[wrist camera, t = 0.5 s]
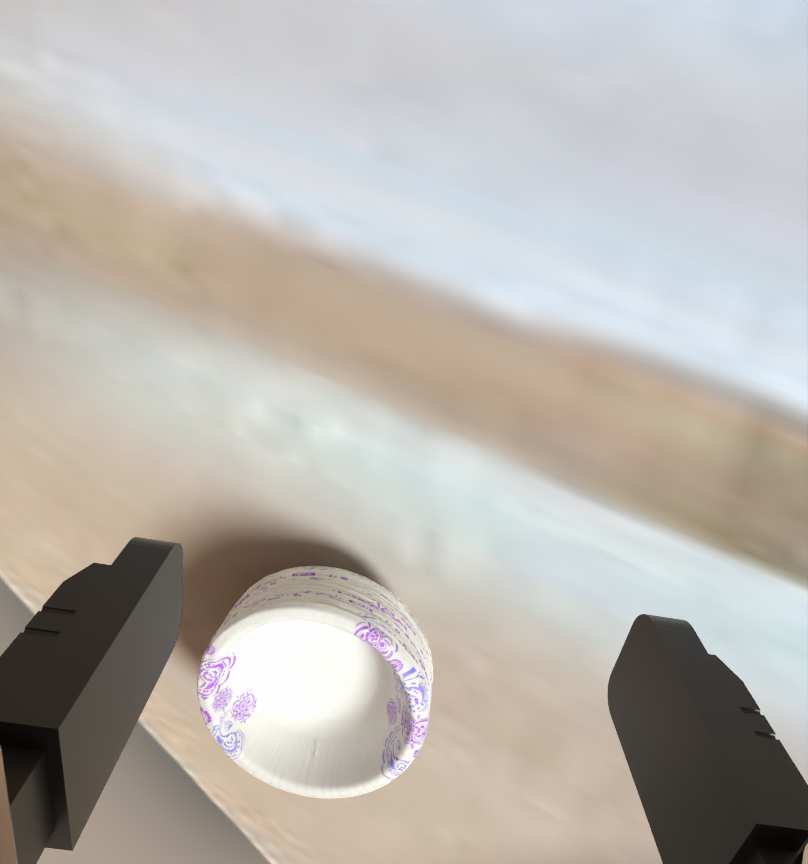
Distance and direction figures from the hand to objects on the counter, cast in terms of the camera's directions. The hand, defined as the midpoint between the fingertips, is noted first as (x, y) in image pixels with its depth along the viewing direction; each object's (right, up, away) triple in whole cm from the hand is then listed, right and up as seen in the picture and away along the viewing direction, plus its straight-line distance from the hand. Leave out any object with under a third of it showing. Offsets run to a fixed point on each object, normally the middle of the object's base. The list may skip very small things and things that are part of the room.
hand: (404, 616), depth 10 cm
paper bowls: (-5, -12, +34) cm, 37 cm away
